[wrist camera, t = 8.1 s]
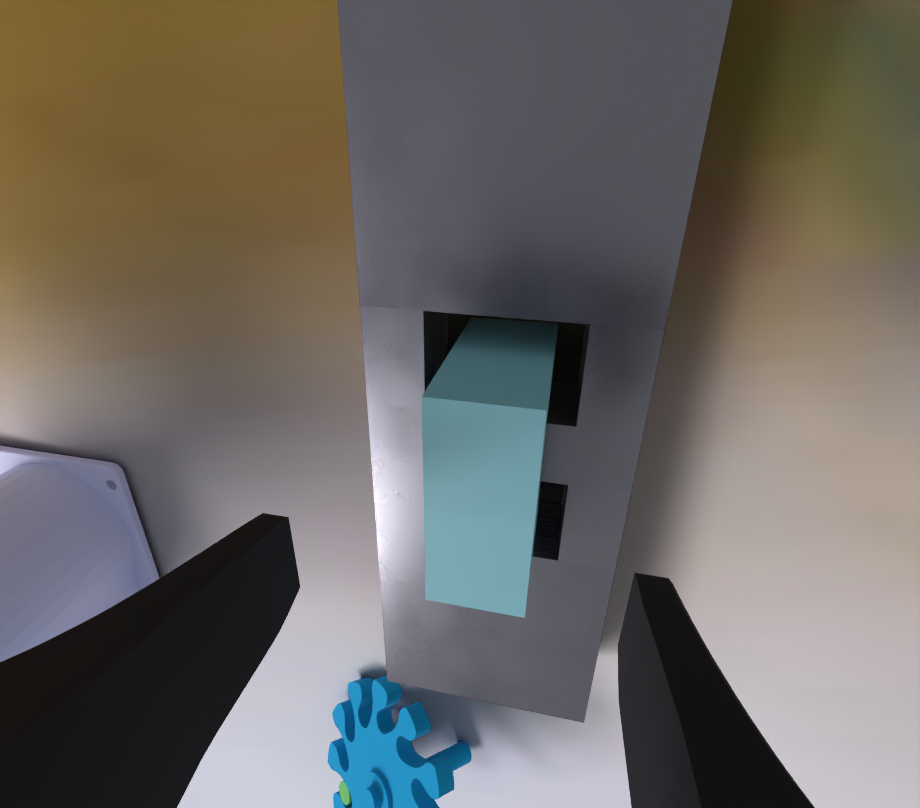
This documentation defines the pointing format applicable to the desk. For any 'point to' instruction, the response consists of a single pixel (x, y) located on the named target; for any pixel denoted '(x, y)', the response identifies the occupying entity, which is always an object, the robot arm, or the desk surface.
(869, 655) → the desk surface
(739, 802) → the robot arm
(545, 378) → the upright aqua box
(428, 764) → the blue lumpy piece
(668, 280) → the grey board with slots
